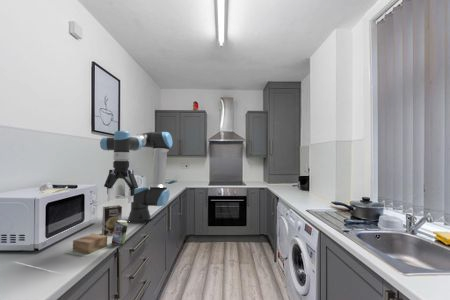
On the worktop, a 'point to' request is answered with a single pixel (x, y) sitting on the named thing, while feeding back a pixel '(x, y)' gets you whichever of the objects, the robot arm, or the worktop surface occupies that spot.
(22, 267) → the worktop surface
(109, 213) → the coffee box
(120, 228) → the beverage can
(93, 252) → the build pad
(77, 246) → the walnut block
